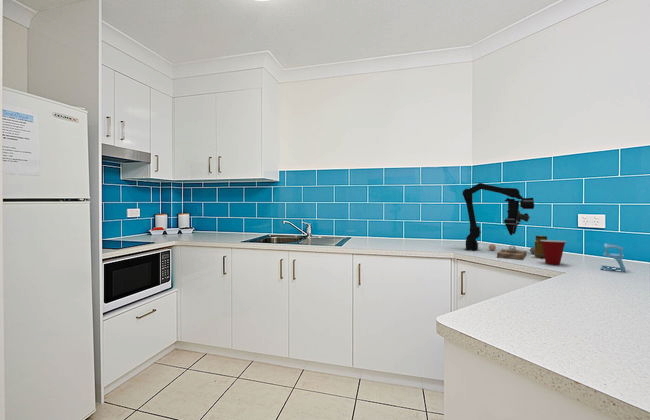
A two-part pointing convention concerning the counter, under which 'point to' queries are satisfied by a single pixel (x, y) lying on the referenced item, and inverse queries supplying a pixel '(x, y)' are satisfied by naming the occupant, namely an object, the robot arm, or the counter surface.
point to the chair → (616, 256)
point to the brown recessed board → (511, 254)
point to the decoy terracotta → (492, 247)
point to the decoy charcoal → (532, 250)
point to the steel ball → (512, 248)
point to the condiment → (539, 247)
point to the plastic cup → (553, 251)
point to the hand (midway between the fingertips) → (512, 234)
